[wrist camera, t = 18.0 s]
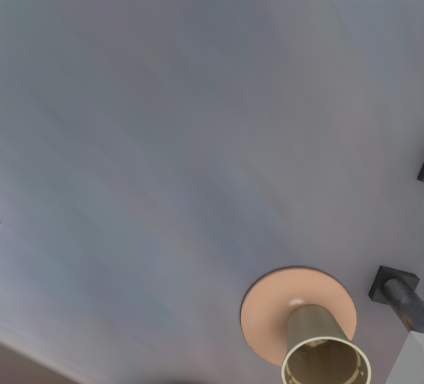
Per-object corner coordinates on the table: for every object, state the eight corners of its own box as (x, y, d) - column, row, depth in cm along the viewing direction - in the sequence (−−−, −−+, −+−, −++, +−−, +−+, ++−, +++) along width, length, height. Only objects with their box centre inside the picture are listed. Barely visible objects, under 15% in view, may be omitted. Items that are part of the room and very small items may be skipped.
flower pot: (265, 343, 46) (270, 396, 38) (286, 284, 44) (296, 326, 35) (333, 362, 46) (352, 419, 38) (358, 303, 44) (384, 351, 35)
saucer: (257, 253, 44) (258, 257, 43) (371, 283, 44) (373, 287, 43) (229, 347, 48) (228, 352, 47) (332, 375, 48) (334, 380, 47)
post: (380, 265, 43) (443, 341, 29) (415, 274, 43) (493, 354, 29) (368, 295, 44) (423, 380, 31) (401, 304, 44) (471, 393, 31)
